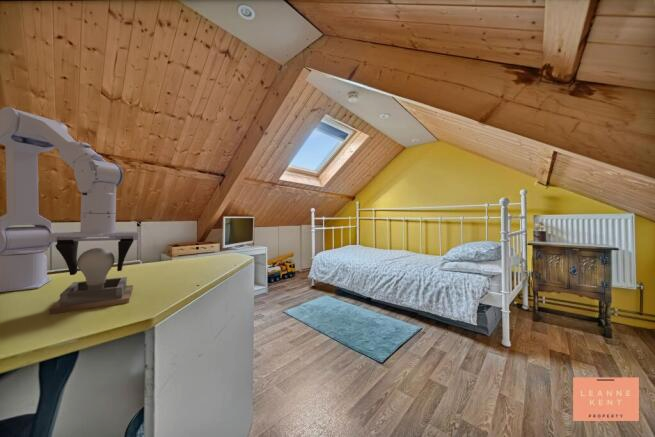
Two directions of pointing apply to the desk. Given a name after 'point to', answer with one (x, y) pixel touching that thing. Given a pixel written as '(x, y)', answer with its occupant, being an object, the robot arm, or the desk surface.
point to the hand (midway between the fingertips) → (97, 272)
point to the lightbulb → (95, 266)
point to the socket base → (92, 296)
